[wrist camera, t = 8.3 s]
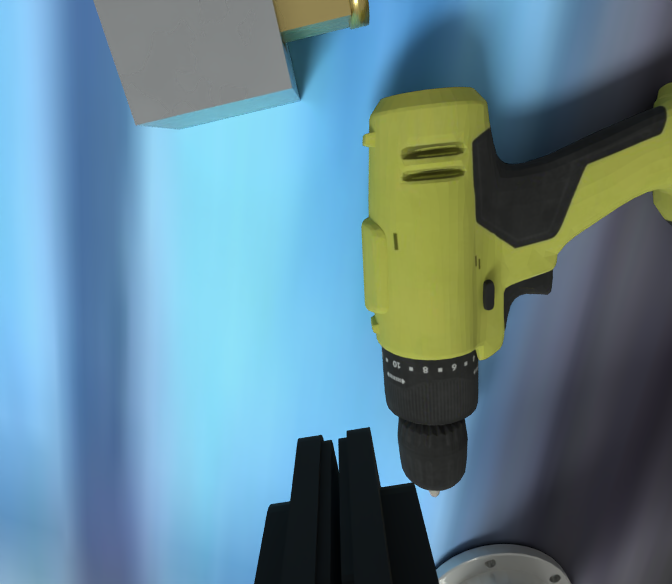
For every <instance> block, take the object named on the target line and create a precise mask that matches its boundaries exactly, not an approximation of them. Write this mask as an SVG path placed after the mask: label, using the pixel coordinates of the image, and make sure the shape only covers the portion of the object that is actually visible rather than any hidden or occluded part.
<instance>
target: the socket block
mask: <svg viewBox="0 0 672 584" xmlns="http://www.w3.org/2000/svg"><path fill="white" fill-rule="evenodd" d="M94 3H95V6H96V9H97V12H98V15H99V18H100V21H101V24H102V27H103V30H104V33H105V36H106V39H107V42H108V45H109V48H110V51H111V53H112V56H113V59H114V62H115V65H116V68H117V71H118V74H119V77H120V80H121V83H122V86H123V89H124V92H125V95H126V98H127V101H128V104H129V107H130V109H131V112H132V115H133V118H134V121H135V124H136V125H137V126H148V127H158V128H169V129H183V128H188V127H192V126H196V125H200V124H205V123H209V122H213V121H217V120H222V119H226V118H230V117H234V116H238V115H243V114H247V113H251V112H255V111H260V110H264V109H268V108H272V107H277V106H281V105H285V104H289V103H294V102H298V101H300V97H299V93H298V88H297V84H296V79H295V75H294V70H293V66H292V62H291V57H290V53H289V48H288V44H287V43H283V42H282V37H281V33H280V29H279V24H278V20H277V15H276V11H275V7H274V2H273V0H94Z"/></svg>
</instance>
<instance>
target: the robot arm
mask: <svg viewBox="0 0 672 584" xmlns="http://www.w3.org/2000/svg"><path fill="white" fill-rule="evenodd" d="M338 446H339V470H338V465H337V461H336V456H335V451H334V447H333V442H332V440H328V441H324V440H323V437H322V435H318V436H311V437H305V438H299V439H298V442H297V449H296V458H295V466H294V474H293V483H292V491H291V499H290V501H289V502H283V503H276V504H271V505H270V506H269V508H268V511H267V516H266V521H265V527H264V532H263V538H262V543H261V549H260V554H259V560H258V565H257V571H256V577H255V582H254V584H571V582H570V581H569V579H568V577H567V575H566V573H565V572H564V570H563V569H562V567H561V566H560V565H559V564H558V563H557V562H556V561H555V560H554V559H553V558H551V557H550V556H548V555H546V554H544V553H543V552H541V551H539V550H536V549H533V548H530V547H527V546H520V545H514V544H494V545H487V546H481V547H477V548H474V549H471V550H467V551H465V552H463V553H461V554H458V555H456V556H454V557H452V558H451V559H449V560H448V561H446V562H445V563H443V564H442V565H441V566H440V567H439V568H438V569H437V570H436V568H435V564H434V560H433V556H432V552H431V548H430V544H429V540H428V536H427V532H426V528H425V524H424V520H423V516H422V512H421V508H420V504H419V500H418V496H417V492H416V488H415V485H414V482H413V483H407V484H400V485H394V486H387V487H381V486H380V480H379V475H378V469H377V464H376V458H375V453H374V447H373V442H372V436H371V431H370V427H368V428H361V429H355V430H349V431H347V437H346V438H340V439H338Z"/></svg>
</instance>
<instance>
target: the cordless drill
mask: <svg viewBox="0 0 672 584" xmlns="http://www.w3.org/2000/svg"><path fill="white" fill-rule="evenodd" d="M363 146H366V147H369V217H368V218H366V219H365V220H364V221H363V222H362V227H361V228H362V250H363V271H364V293H365V306H366V308H367V309H368V310H369V311H371V312H374V313H375V315H374V316H373V317H371V324H372V329H373V332H374V333H376V336H377V340H378V342H379V343H380V345H381V346H382V358H383V372H384V385H385V395H386V402H387V405H388V408H389V409H390V410H391V411H392V412H393V413H394V414H395V415H397V416H398V417H399V423H398V443H399V451H400V459H401V464H402V469H403V471H404V473H405V475H406V476H407V477H408V478H409V479H410V480H411V481H412V482H414V484H416V485H417V486H419V487H421V488H423V489H426V490H429V492H430V494H431V495H432V496H433V497H437V496H438V495H439V492H440V491H442V490H446V489H449V488H451V487H453V486H454V485H455V484H457V483H458V482H459V481H460V480H461V478H462V477H463V475H464V473H465V469H466V460H467V441H468V437H467V430H466V424H465V418H466V417H468V416H469V415H471V414H472V413H473V412H474V410H475V409H476V407H477V403H478V359H479V360H485V359H487V358H488V357H490V356H491V355H493V354H494V353H495V352H496V351H498V350H499V349H500V348H501V346H502V344H503V339H504V331H505V328H506V322H507V317H508V313H509V309H510V305H511V304H512V302H513V301H514V299H515V298H517V297H518V296H520V295H523V294H545V295H548V294H549V293H550V292H551V288H552V280H553V268H554V267H555V265H556V262H557V254H558V253H559V252H560V251H561V249H562V248H563V247H564V246H565V245H566V244H567V243H568V242H569V241H570V240H571V239H573V238H574V237H575V236H576V235H578V234H579V233H581V232H582V231H584V230H585V229H587V228H588V227H590V226H591V225H593V224H594V223H596V222H597V221H599V220H600V219H602V218H603V217H605V216H606V215H608V214H609V213H611V212H612V211H614V210H615V209H617V208H618V207H620V206H621V205H623V204H625V203H627V202H628V201H630V200H632V199H633V198H636V197H638V196H640V195H642V194H644V193H646V192H650V191H653V201H654V205H655V206H656V207H657V209H658V210H659V212H660V213H661V215H662V216H663V217H664V219H665V220H666V221H667V222H668V223H669V224H671V225H672V82H671V83H668V84H666V85H664V86H663V87H661V88H660V89H659V92H658V96H657V100H656V101H655V103H654V107H653V108H652V109H650V110H647V111H645V112H642V113H640V114H637V115H635V116H632V117H630V118H628V119H626V120H623V121H621V122H619V123H616V124H614V125H612V126H609V127H607V128H605V129H603V130H600V131H598V132H596V133H594V134H592V135H589V136H587V137H585V138H583V139H581V140H579V141H577V142H575V143H572V144H570V145H568V146H566V147H564V148H562V149H560V150H558V151H556V152H553V153H551V154H549V155H546V156H543V157H540V158H537V159H534V160H531V161H528V162H525V163H519V164H507V163H504V162H503V161H501V160H500V159H499V157H498V156H497V154H496V150H495V147H494V143H493V138H492V133H491V127H490V122H489V114H488V105H487V102H486V100H485V99H484V98H483V97H482V96H481V95H480V94H479V93H478V92H477V91H476V90H475V89H474V88H471V87H448V88H437V89H428V90H421V91H414V92H408V93H403V94H398V95H393V96H389V97H386V98H383V99H381V100H380V102H379V103H378V105H377V106H376V108H375V109H374V111H373V112H372V114H371V116H370V119H369V133H368V134H365V135H364V136H363Z"/></svg>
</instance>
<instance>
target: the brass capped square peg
mask: <svg viewBox="0 0 672 584" xmlns="http://www.w3.org/2000/svg"><path fill="white" fill-rule="evenodd" d="M273 2H274V7H275V11H276V15H277V20H278V24H279V29H280V33H281V37H282V42H283V43H287V42H291V41H295V40H299V39H303V38H307V37H311V36H316V35H320V34H324V33H328V32H332V31H336V30H340V29H344V28H348V27H350V29H355V28H359V27H363V26H367V25H369V2H368V0H273Z"/></svg>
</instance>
